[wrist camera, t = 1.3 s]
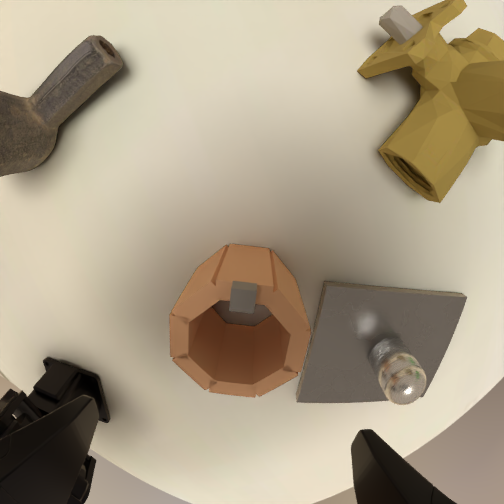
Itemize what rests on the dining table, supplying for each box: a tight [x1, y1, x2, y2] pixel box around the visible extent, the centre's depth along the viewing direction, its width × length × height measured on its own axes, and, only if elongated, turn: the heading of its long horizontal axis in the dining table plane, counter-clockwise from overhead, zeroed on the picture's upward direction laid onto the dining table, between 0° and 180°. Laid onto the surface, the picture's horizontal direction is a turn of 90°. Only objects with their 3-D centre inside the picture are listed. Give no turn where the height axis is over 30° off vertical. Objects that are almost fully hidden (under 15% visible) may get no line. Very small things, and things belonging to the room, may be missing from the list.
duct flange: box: [296, 281, 467, 405], centre depth 17 cm, size 10×12×6 cm
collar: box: [170, 244, 311, 397], centre depth 15 cm, size 6×6×7 cm
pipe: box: [0, 35, 123, 177], centre depth 12 cm, size 6×13×8 cm, turn 121°
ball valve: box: [357, 0, 504, 203], centre depth 10 cm, size 13×10×10 cm
